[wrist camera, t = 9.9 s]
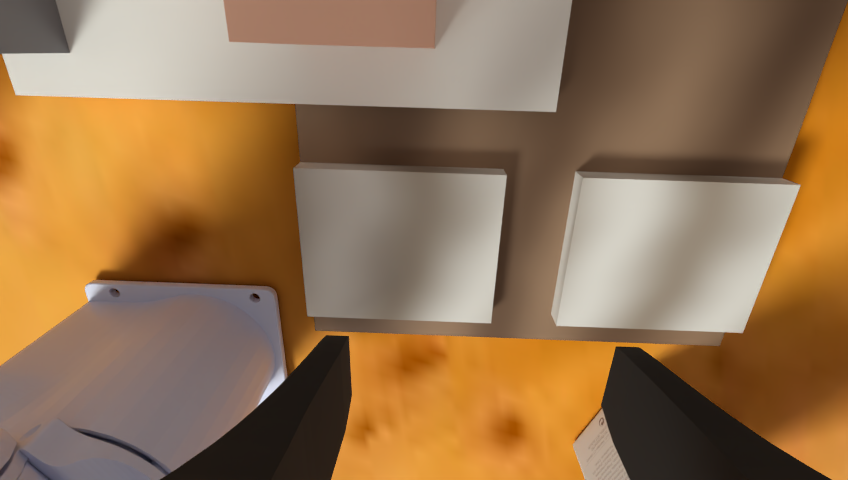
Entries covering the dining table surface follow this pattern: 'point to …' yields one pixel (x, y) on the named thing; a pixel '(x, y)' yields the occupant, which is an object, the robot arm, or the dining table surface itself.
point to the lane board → (573, 185)
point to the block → (333, 22)
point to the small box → (599, 452)
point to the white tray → (283, 57)
